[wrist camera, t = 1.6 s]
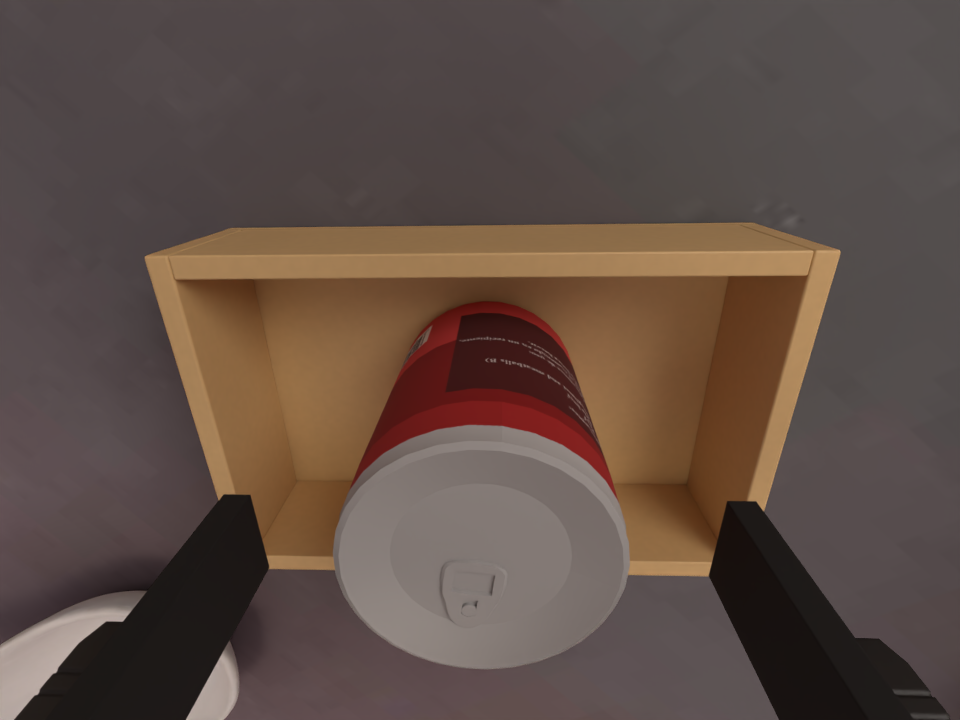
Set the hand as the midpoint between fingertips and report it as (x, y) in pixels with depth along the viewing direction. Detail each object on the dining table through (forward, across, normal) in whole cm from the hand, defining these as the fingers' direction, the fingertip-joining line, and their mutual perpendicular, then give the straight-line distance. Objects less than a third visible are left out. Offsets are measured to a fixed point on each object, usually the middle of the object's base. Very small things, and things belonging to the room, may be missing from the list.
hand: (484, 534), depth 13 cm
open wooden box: (+10, 0, 0) cm, 10 cm away
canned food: (+10, 0, 0) cm, 10 cm away
